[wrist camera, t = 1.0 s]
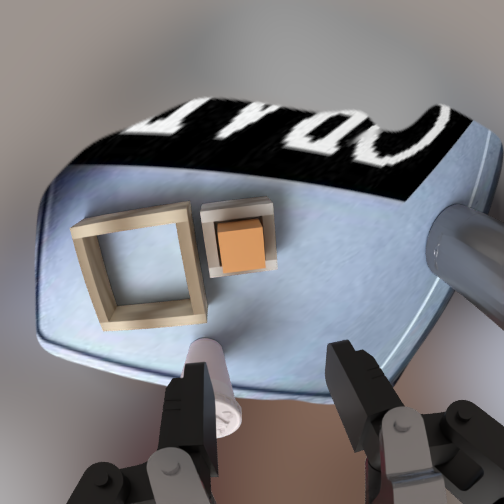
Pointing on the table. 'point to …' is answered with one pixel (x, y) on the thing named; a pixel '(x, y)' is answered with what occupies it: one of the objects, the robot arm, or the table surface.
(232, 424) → the smoothie
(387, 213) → the table surface
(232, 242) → the button
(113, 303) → the station
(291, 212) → the table surface
